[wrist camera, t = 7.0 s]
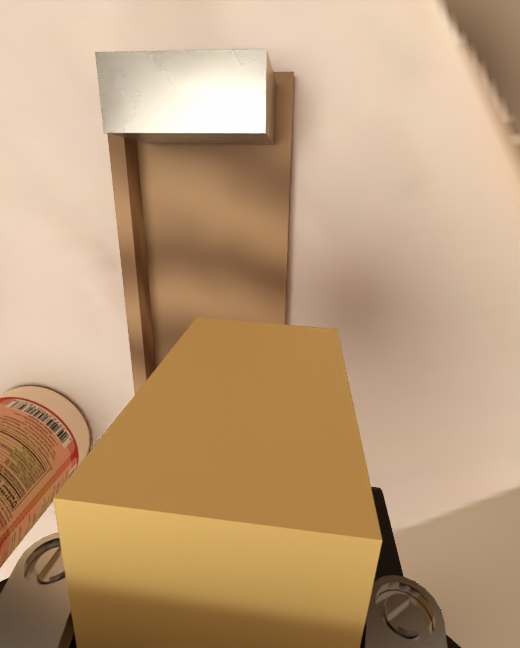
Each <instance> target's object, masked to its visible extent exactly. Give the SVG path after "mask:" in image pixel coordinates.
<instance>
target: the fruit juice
mask: <svg viewBox="0 0 520 648" xmlns="http://www.w3.org/2000/svg"><path fill="white" fill-rule="evenodd" d="M89 444H90V435H89V430H88V426H87V424H86V421H85V419H84V418H83V416H82V414H81V413H80V412H79V410H78V409H77V408H76V407H75V406H74V405H73V404H72V403H71V402H70V401H69V400H67V399H66V398H65V397H63V396H62V395H60V394H58V393H56V392H54V391H52V390H49V389H46V388H43V387H37V386H22V387H17V388H14V389H11V390H8V391H6V392H4V393H2V394H0V567H1V566H2V565H3V564H4V562H5V561H6V560H7V559H8V557H9V556H10V555H11V554H12V552H13V551H14V550H15V548H16V547H17V546H18V545H19V543H20V542H21V541H22V540H23V538H24V537H25V536H26V535H27V533H28V532H29V531H30V529H31V528H32V527H33V526H34V524H35V523H36V522H37V521H38V519H39V518H40V517H41V516H42V514H43V513H44V512H45V511H46V509H47V508H48V507H49V505H50V504H51V503H52V502H53V498H54V497H55V495H56V494H57V493H58V492H59V490H60V489H61V488H62V487H63V485H64V484H65V483H66V482H67V480H68V479H69V478H70V476H71V475H72V474H73V473H74V471H75V470H76V469H77V468H78V466H79V465H80V464H81V463H82V461H83V460H84V459H85V457H86V455H87V452H88V449H89Z"/></svg>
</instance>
